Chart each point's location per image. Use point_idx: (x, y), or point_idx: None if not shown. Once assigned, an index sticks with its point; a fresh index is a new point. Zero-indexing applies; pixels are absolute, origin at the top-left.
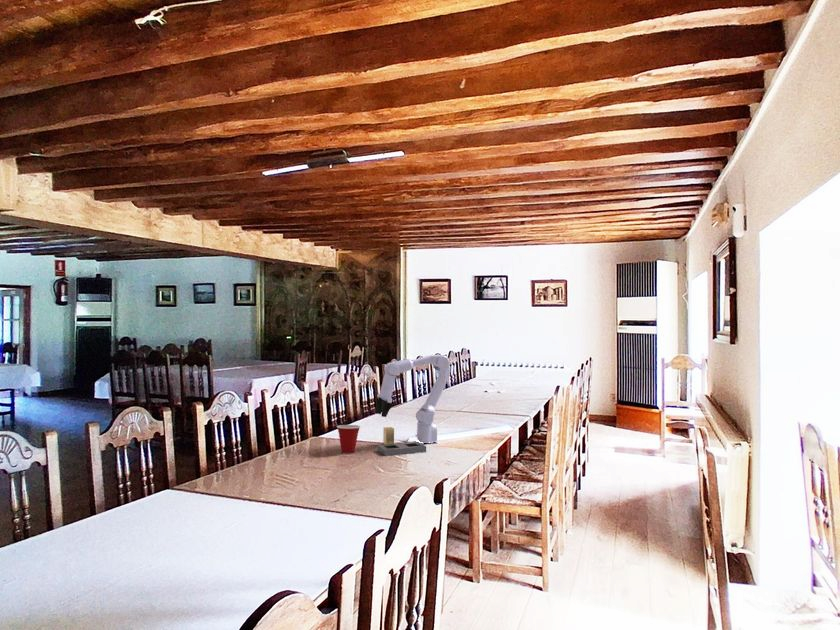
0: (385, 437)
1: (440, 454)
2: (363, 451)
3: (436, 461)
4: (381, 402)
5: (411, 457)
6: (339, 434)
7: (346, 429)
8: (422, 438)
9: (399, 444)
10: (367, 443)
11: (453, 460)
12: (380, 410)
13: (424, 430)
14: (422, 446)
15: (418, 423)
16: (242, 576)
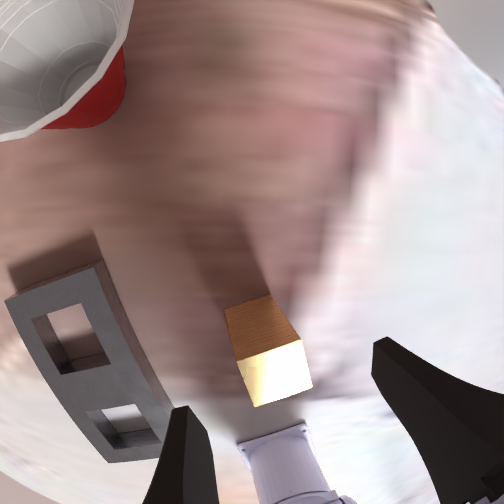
0: (242, 325)
1: (90, 470)
2: (92, 177)
3: (10, 437)
4: (451, 469)
5: (23, 388)
6: (47, 10)
7: None
8: (254, 465)
9: (125, 384)
10: (294, 200)
11: (37, 471)
12: (393, 397)
13: (259, 496)
14: (105, 454)
15: (298, 501)
16: None
